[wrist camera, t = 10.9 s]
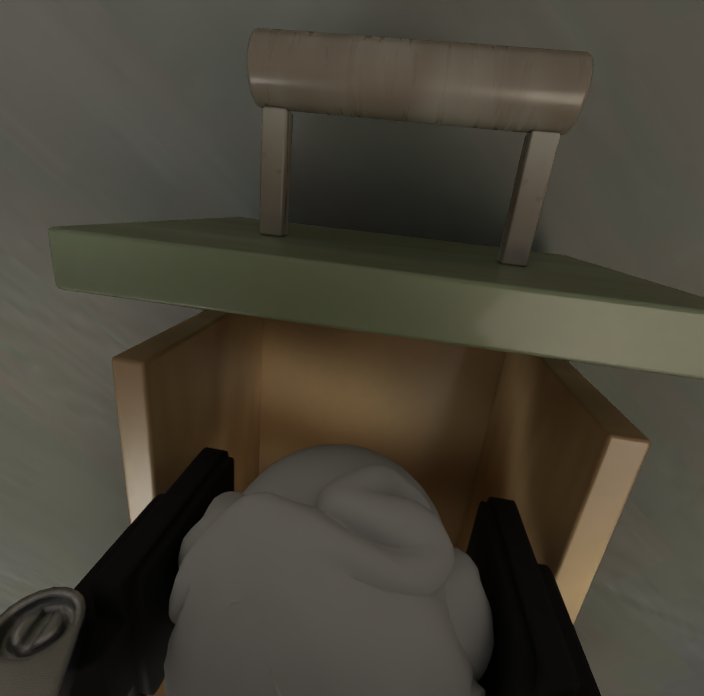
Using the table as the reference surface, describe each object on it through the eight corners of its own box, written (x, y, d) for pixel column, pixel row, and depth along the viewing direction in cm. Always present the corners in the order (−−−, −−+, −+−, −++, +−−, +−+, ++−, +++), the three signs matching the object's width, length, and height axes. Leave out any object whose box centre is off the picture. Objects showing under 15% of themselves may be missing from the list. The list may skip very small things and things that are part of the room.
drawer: (238, 89, 14) (-4, -79, 6) (604, 121, 13) (949, -30, 5) (235, 523, 21) (123, 730, 13) (476, 569, 20) (525, 827, 12)
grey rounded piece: (297, 598, 13) (180, 1012, 6) (207, 409, 11) (-103, 721, 4) (490, 575, 11) (602, 1071, 5) (428, 353, 9) (474, 685, 3)
